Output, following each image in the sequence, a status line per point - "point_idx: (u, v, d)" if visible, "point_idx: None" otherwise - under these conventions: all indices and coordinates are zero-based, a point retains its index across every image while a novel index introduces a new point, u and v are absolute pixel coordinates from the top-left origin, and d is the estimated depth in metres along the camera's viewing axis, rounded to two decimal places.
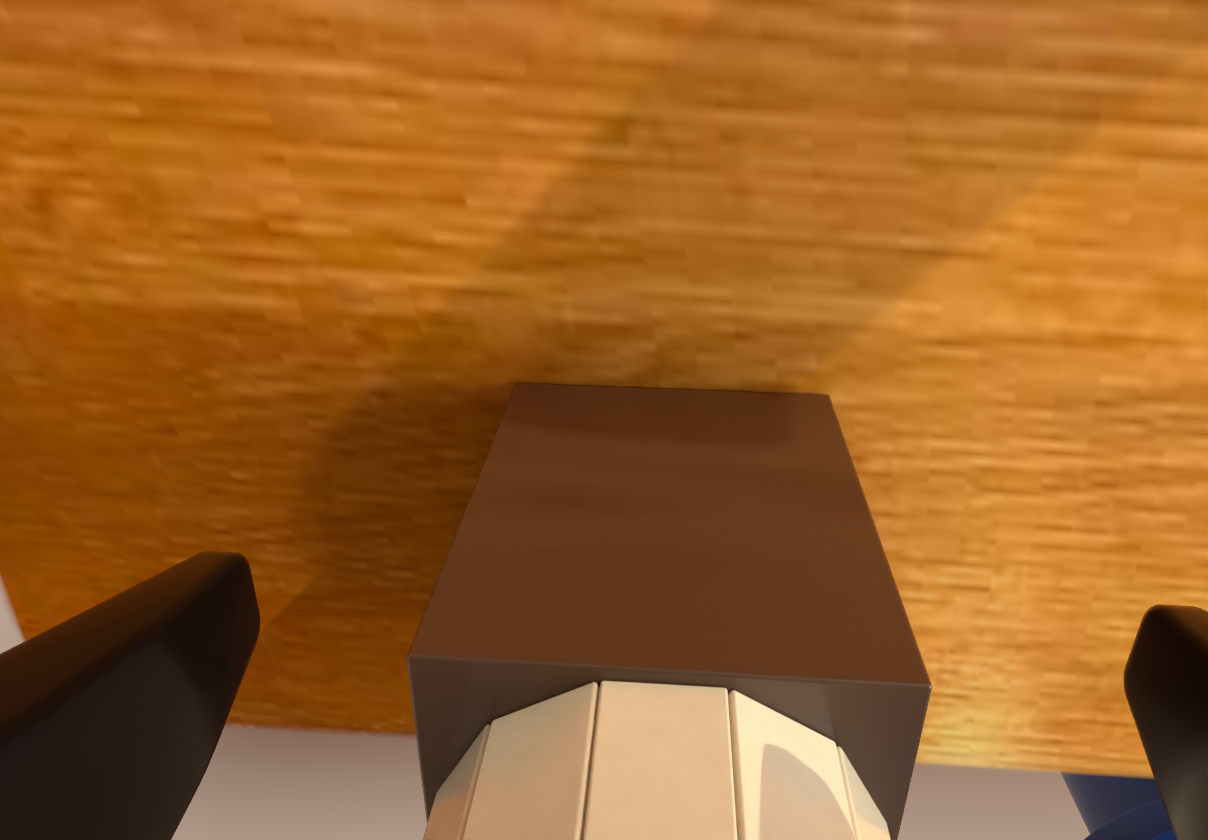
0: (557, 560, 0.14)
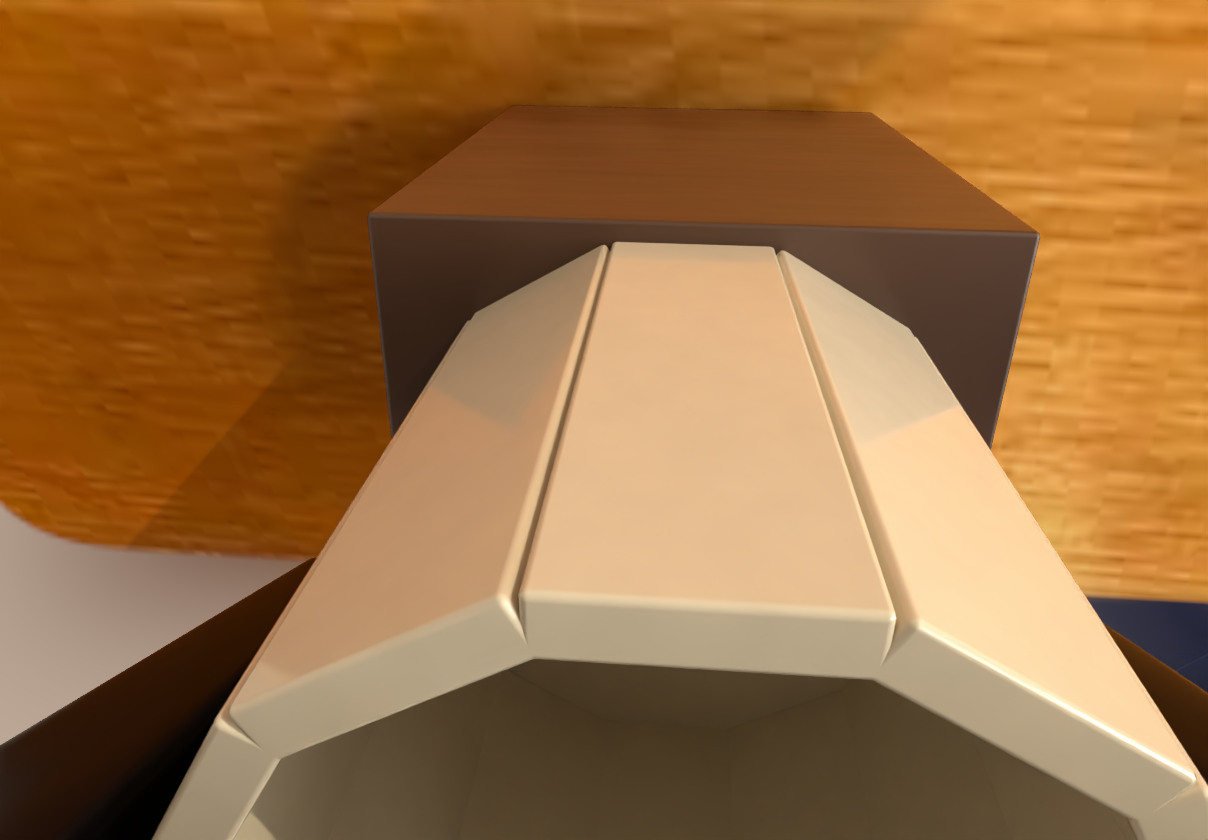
0: (558, 174, 0.11)
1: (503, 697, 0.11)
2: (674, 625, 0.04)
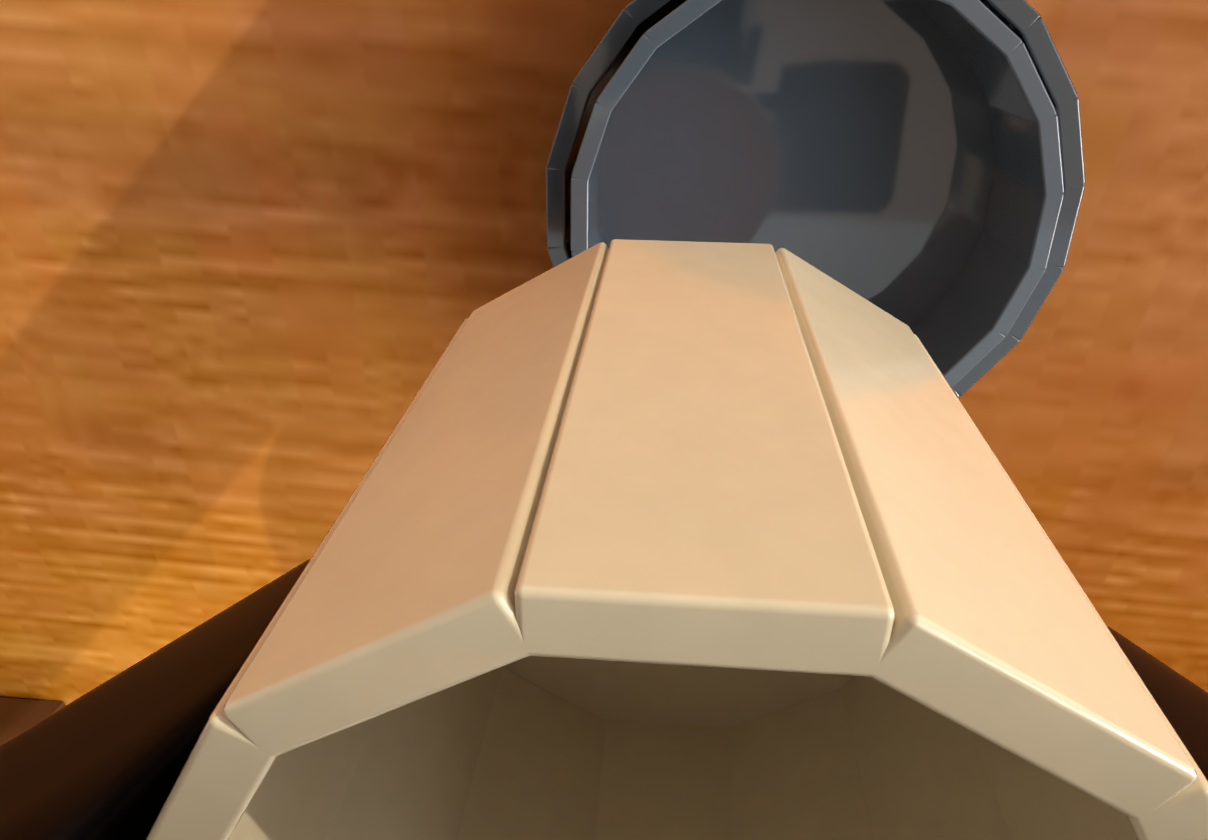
0: None
1: (503, 696, 0.11)
2: (671, 622, 0.04)
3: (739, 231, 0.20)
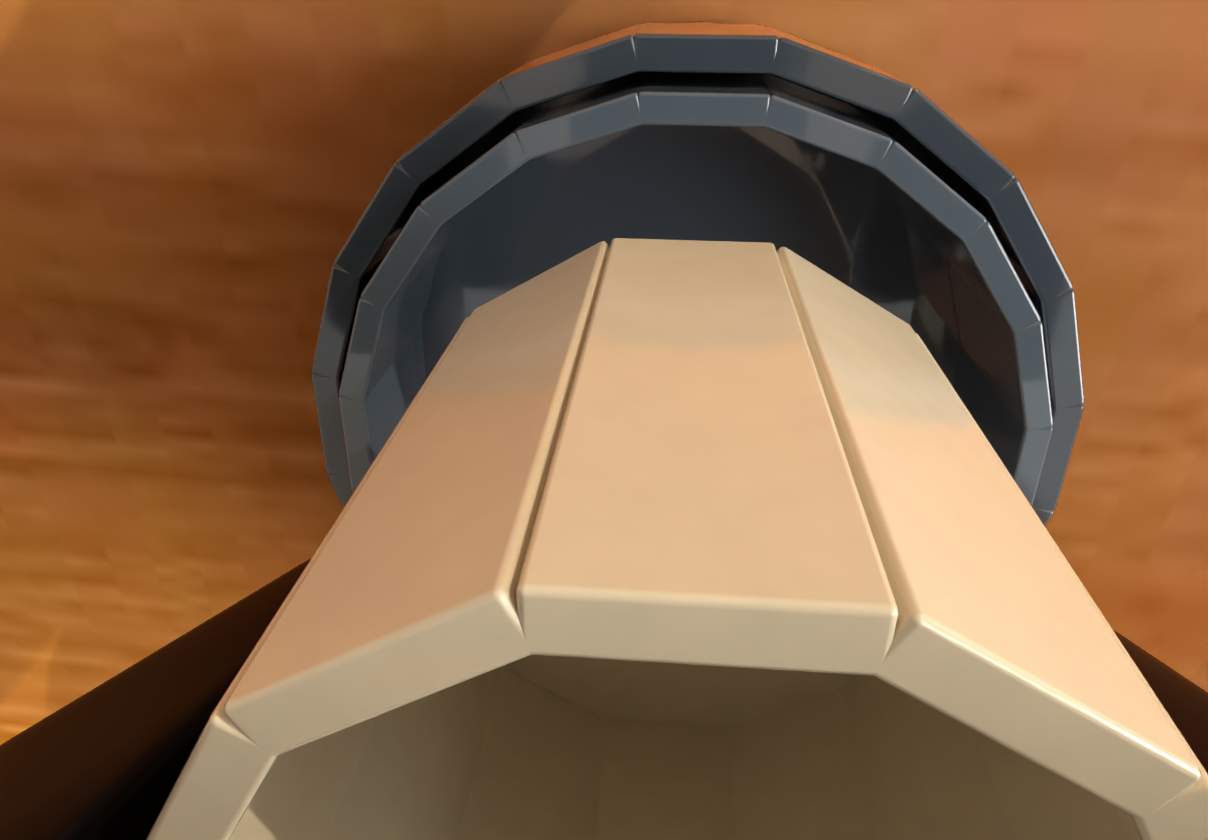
0: None
1: (502, 696, 0.11)
2: (673, 620, 0.04)
3: None
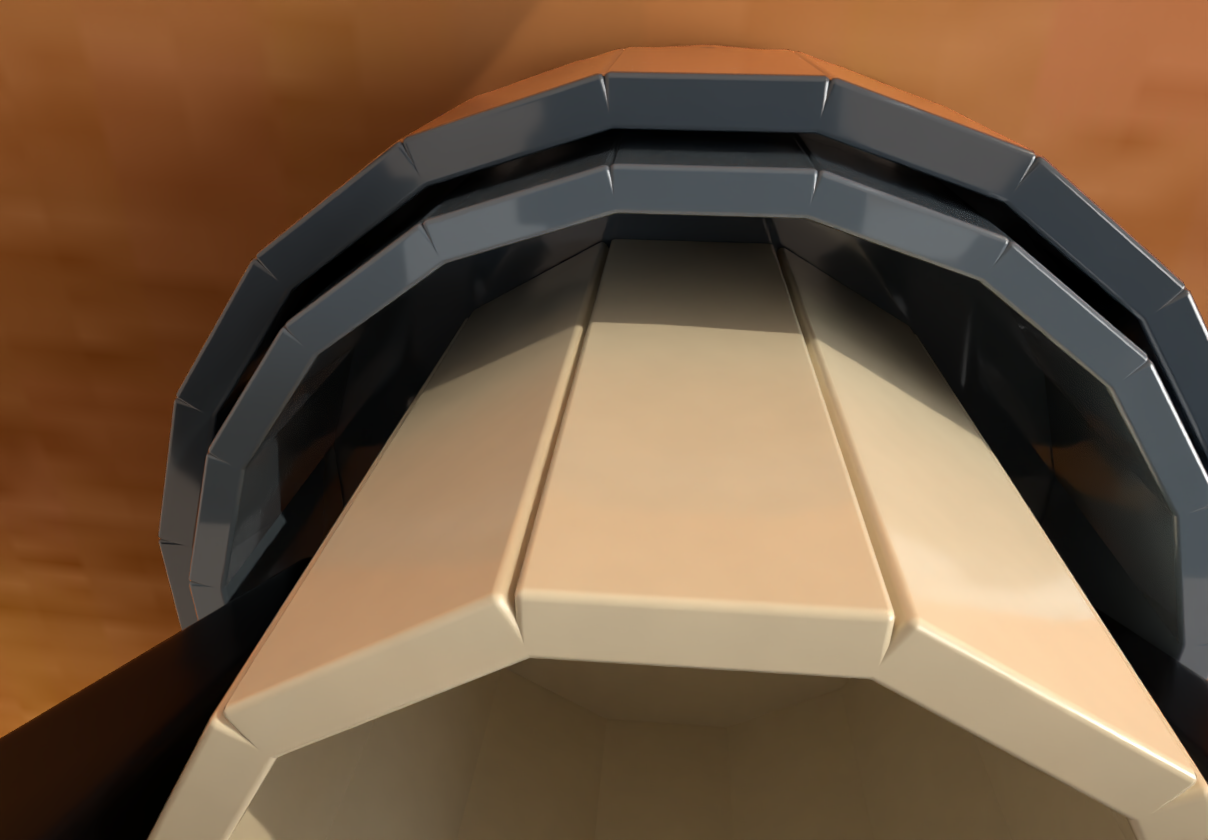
0: None
1: (503, 696, 0.11)
2: (670, 624, 0.04)
3: None
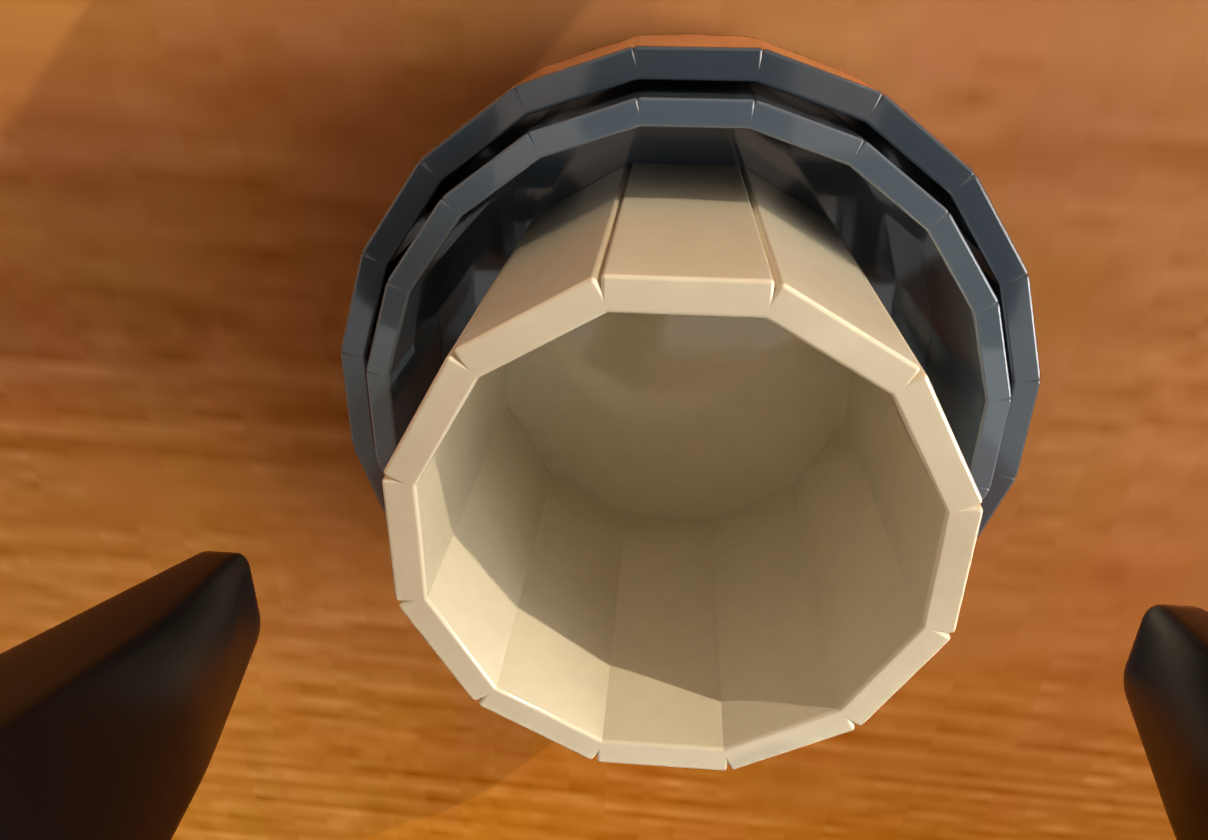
0: None
1: (553, 490, 0.16)
2: (673, 289, 0.09)
3: None
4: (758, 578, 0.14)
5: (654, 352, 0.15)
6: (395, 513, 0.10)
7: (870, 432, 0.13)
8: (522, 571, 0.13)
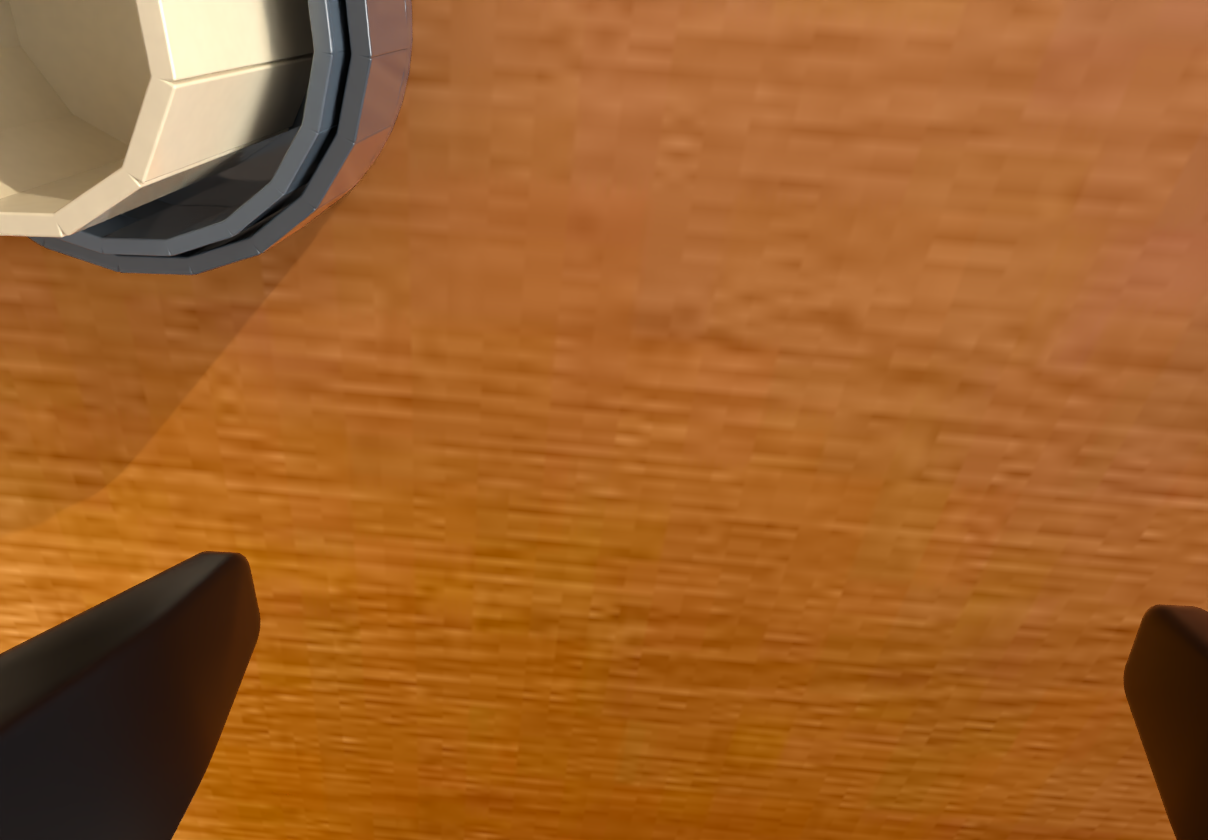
0: None
1: (64, 119, 0.19)
2: None
3: None
4: None
5: None
6: None
7: None
8: None
